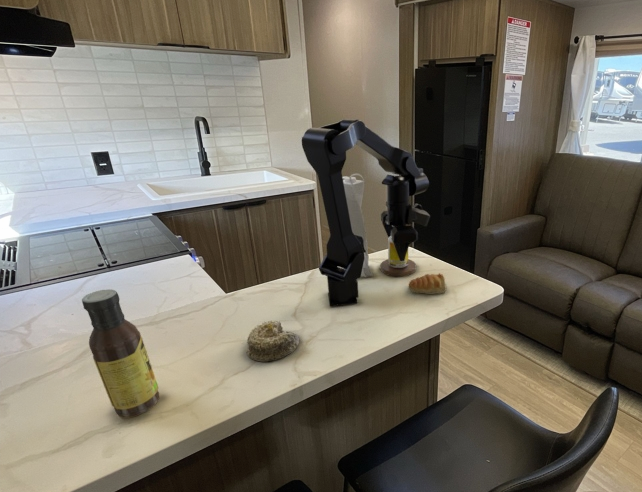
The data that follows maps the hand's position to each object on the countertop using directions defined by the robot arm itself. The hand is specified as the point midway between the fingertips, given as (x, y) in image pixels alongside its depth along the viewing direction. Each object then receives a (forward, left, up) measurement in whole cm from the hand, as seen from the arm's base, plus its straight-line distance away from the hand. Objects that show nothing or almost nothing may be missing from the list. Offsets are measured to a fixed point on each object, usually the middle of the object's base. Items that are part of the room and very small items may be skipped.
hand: (398, 254), depth 112 cm
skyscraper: (-12, -1, -5) cm, 13 cm away
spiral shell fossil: (-32, -30, -5) cm, 44 cm away
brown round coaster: (0, 0, -4) cm, 4 cm away
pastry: (+5, -14, -5) cm, 16 cm away
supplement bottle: (0, 0, -3) cm, 3 cm away
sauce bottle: (-52, -41, -5) cm, 66 cm away
